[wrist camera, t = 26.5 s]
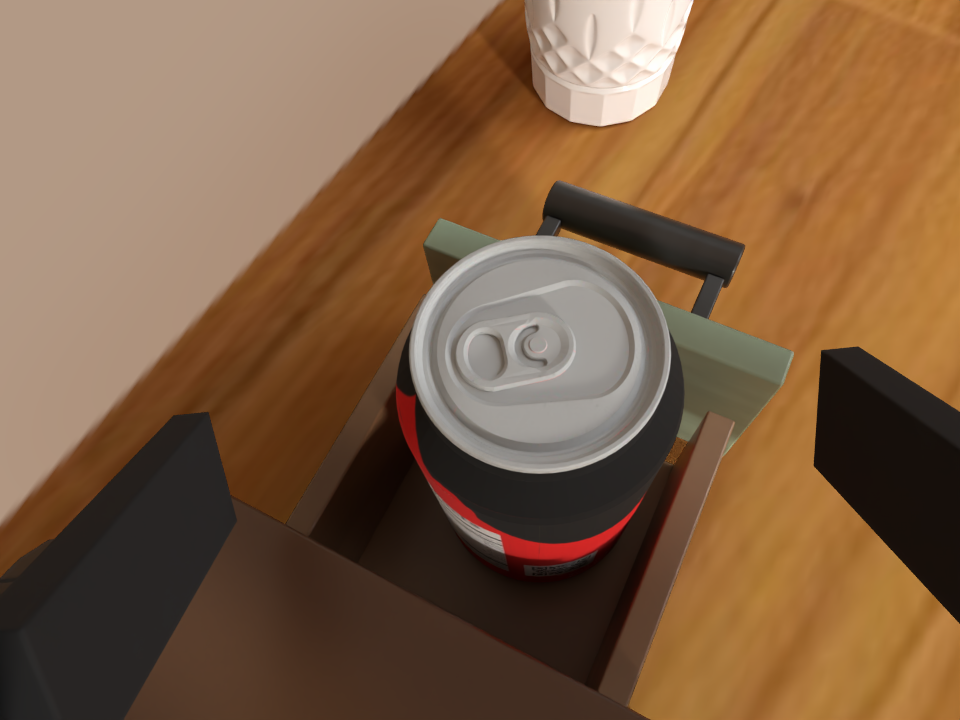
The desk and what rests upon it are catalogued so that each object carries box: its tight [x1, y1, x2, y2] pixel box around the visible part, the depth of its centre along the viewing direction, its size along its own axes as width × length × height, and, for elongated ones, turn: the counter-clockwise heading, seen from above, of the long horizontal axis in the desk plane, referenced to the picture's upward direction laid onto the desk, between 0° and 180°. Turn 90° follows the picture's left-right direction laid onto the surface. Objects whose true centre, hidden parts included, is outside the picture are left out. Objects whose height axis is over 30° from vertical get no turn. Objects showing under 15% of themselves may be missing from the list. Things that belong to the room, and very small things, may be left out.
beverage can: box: [396, 236, 685, 582], centre depth 19 cm, size 6×6×12 cm
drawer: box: [286, 181, 794, 707], centre depth 23 cm, size 19×12×7 cm, turn 153°
